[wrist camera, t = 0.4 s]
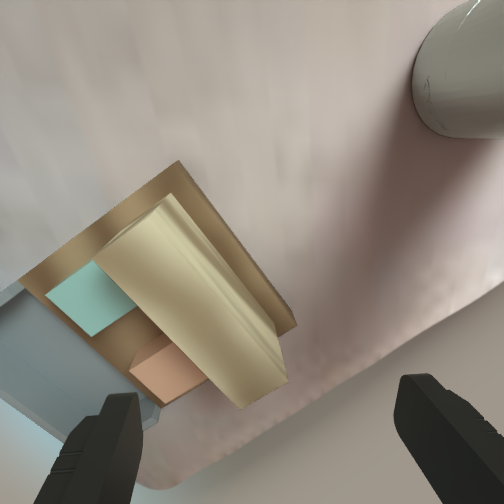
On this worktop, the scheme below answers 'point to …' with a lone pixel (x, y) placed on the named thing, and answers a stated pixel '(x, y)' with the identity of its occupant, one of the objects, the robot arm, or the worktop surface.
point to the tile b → (165, 369)
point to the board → (136, 321)
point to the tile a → (91, 298)
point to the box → (54, 368)
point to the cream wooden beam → (196, 301)
